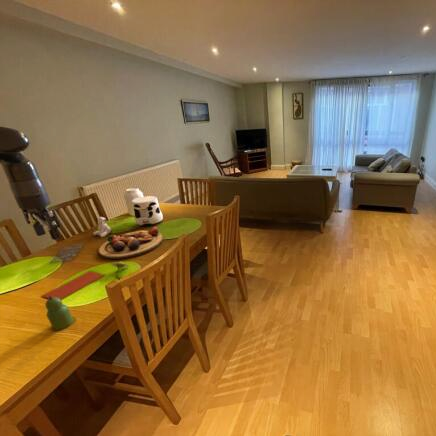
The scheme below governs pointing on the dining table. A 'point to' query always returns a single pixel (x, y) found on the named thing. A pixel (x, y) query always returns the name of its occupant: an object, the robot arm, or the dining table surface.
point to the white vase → (131, 198)
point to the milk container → (147, 210)
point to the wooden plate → (130, 244)
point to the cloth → (73, 285)
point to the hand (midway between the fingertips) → (49, 236)
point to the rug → (67, 253)
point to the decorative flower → (119, 266)
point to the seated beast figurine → (102, 228)
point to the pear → (58, 313)
